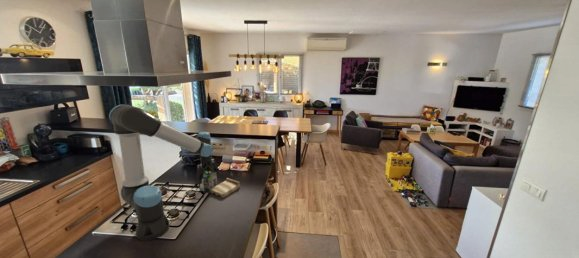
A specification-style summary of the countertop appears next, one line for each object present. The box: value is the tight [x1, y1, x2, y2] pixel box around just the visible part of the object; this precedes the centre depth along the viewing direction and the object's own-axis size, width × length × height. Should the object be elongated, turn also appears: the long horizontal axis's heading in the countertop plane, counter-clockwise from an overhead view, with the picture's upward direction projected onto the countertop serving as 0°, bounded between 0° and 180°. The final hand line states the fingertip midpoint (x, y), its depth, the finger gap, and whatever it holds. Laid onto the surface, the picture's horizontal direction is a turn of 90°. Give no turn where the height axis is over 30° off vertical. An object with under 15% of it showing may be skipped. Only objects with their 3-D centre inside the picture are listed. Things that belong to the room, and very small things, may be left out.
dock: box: [209, 177, 241, 199], centre depth 159 cm, size 16×12×5 cm
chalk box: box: [197, 170, 219, 194], centre depth 159 cm, size 9×9×15 cm
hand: (208, 184), depth 160 cm, fingers closed on chalk box, 10 cm apart
